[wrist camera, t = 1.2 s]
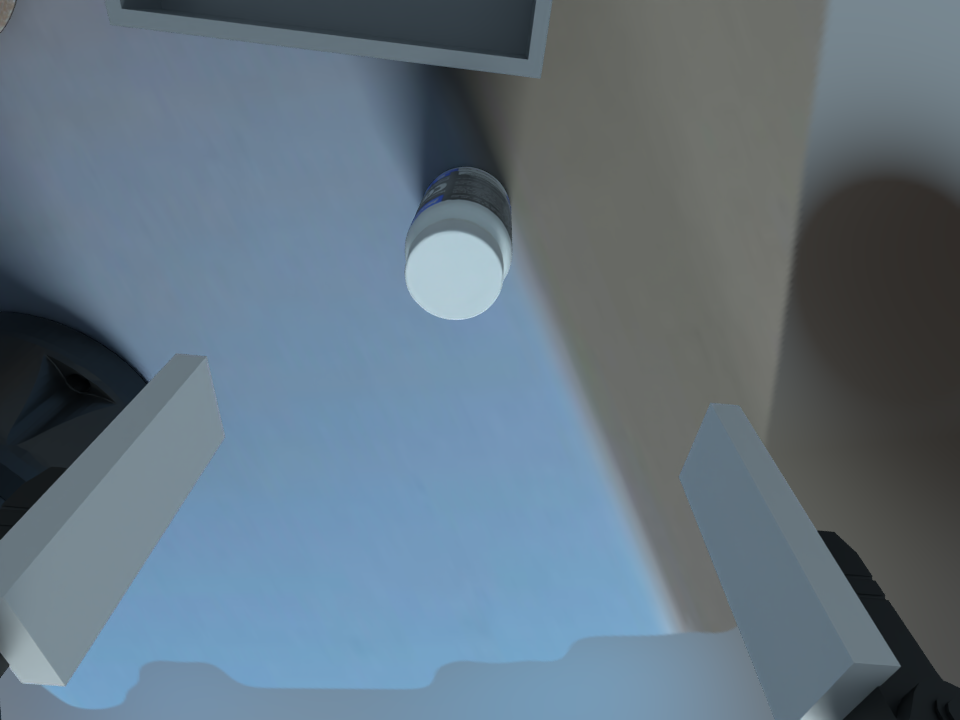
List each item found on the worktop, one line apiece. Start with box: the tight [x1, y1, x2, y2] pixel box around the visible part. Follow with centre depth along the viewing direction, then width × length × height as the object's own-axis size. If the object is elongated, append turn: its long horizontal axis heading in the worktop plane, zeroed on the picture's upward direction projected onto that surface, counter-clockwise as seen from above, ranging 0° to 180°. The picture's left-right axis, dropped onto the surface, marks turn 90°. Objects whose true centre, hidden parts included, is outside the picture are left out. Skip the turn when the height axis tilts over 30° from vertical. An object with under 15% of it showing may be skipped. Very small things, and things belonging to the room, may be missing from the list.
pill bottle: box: [405, 167, 512, 320], centre depth 24 cm, size 5×5×8 cm
